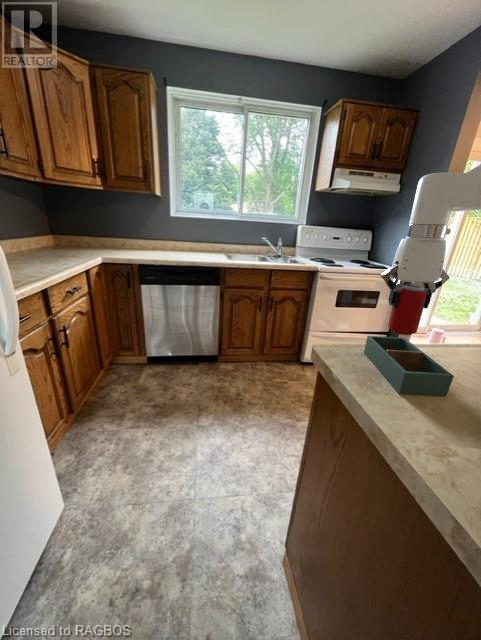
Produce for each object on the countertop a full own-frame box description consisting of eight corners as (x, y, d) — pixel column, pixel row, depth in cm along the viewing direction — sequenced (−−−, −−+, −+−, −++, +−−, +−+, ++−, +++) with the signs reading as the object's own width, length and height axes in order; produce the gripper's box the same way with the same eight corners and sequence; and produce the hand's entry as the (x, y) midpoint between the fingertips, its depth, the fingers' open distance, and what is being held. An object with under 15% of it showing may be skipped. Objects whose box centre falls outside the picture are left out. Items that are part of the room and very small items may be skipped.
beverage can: (422, 334, 70) (434, 289, 66) (403, 338, 67) (415, 291, 63) (399, 325, 76) (409, 283, 72) (381, 328, 73) (390, 285, 69)
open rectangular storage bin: (399, 354, 80) (404, 336, 78) (446, 397, 61) (454, 373, 59) (363, 352, 80) (367, 334, 78) (398, 394, 61) (405, 370, 59)
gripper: (452, 233, 66) (432, 303, 72) (380, 231, 67) (367, 301, 73) (476, 235, 59) (452, 312, 65) (395, 232, 60) (379, 309, 66)
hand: (407, 305), depth 69 cm, fingers closed on beverage can, 6 cm apart
